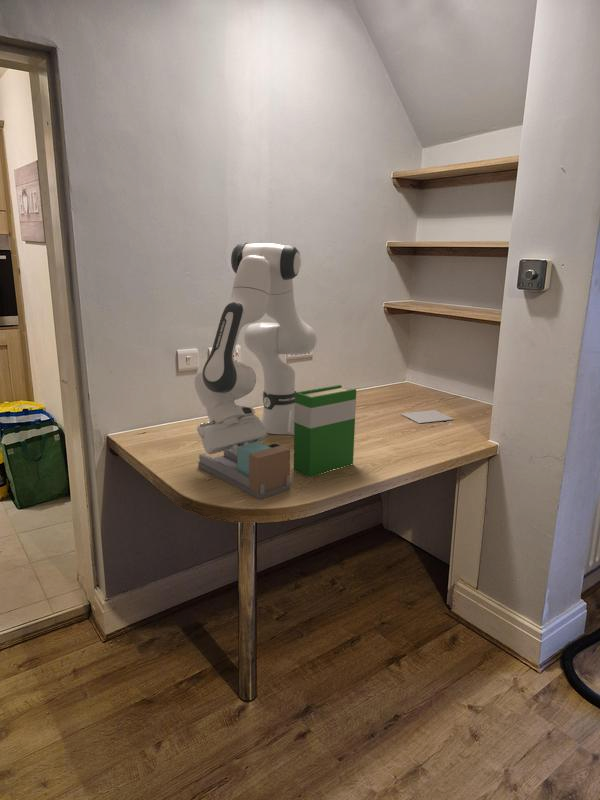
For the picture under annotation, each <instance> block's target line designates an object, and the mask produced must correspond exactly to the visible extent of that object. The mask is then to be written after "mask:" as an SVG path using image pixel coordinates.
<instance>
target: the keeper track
mask: <svg viewBox="0 0 600 800" xmlns="http://www.w3.org/2000/svg"><path fill="white" fill-rule="evenodd" d="M286 447H287V446H283V445H280V446H277V447H273V448H269V449H266V450H262V451H258V452H255V453H251V454H249V476H247V475H245V474H243V473H241V472H239V471H238V463H237V456H236V455H235V454H234V453H232V451H231V449H229V450H225V451H223V455H221V456H218V457H213V458H212V457H211V456H208V455H207V454H204V453H199V454H198V455H199V456H198V457H199V462H197V464H198V465H197V466H198V468H199V469H201V470H203V471H205V472H206V473H208V474H210V475H213V476H214V477H216V478H218V479H220V480H222V481H224V482H225V483H227V484H229V485H232V486H233V487H235V488H237V489H239V490H241V491H243V492H244V493H247V494H248V495H251V496H253V497H254V498H256V499H257V500H263V499H265V498H267V497H271V496H274V495H277V494H279V493H283V492H286V491H289V490H292V484H291V448H290V447H287V448H286ZM289 448H290V449H289Z"/></svg>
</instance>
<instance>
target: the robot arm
mask: <svg viewBox="0 0 600 800" xmlns="http://www.w3.org/2000/svg"><path fill="white" fill-rule="evenodd" d="M301 260H302V259H301V254H300V251H299V250H298V249H297V247H296V246H292V245H290V244H285V245H284V244H279V243H272V242H256V243H253V242H251V243H249V242H244V243H243V242H242V243H238V244H236V246H235V247H234V248H232V252H231V257H230V264H231V265H230V266H231V269H232V271H233V272H234V273H235V277H234V280H233V285H232V290H231V294H230V299H229V301H228V303H227V305H226V306H225V308H224V309H223V311H222V314H221V317H220V320H219V323H218V327H217V330H216V334H215V337H214V341H213V345H212V349H211V351H210V353H209V356H208V358H207V360H206V362H205V364H204V366H203V367H202V368H203V369H202V370H200V371H199V372H198V373H197V374H196V376H195V378H194V389H195V391H196V394H197V397H198V399H199V402H200V403H201V405H202V406H203V407H204V408H205V410H206V415H207V417H208V420H209V421H207V422H202V423H200V424H199V425H198V426H197V430H196V431H197V433H198V436H199V437H200V439H201V443H202V446H203V449H204V451H205V453H206V454H208V455H213V454H218V453H221V452H224V451H225V450H229V449H231V451H232V453H234V454H235V455H236V456H237V447H239V446H243V445H247V444H251V443H255V442H259V443H261V442H263V441H264V440H265V439H266V438H267V435H268V434H272V435H291V436H294V415H295V393H296V392H297V391H296V386H295V385H296V373H295V372H296V371H295V369H294V368H293V367H292V366H290V365H289V364H287V363H285V362H284V361H283V360H281V358H280V355H294V356H295V355H296V356H297V355H306V354H310V353H312V352H313V350H314V349H315V347H316V344H317V334H316V331H315V330H314V328H313V327H312V326H311V325H309V323H306V321H304V320H303V319H302V318H301V315H300V314H299V313H298V310H297V308H296V304H295V294H294V282H293V279H294V278H296V277H297V276H298V274H299V272H300V268H301V266H302V261H301ZM265 315H266V316H267V317H269V318H270V319H273V320H275V322H266V321H265V322H262V321H261V322H257V321H259V320H260V319H262V318H263V317H264V316H265ZM255 322H256V323H255ZM248 324H249V325H248ZM246 325H248V326H247V327H246V330H245V331H244V333H243V334H244V335H243V340H244V345H245V346H246V348H247V349H248V350H249V351H250V352H251V353H252V354H254V356H255V357H256V358H257V360H258V361H259V364H260V365H261V367H262V371H263V381H264V382H263V383H264V384H263V385H264V386H263V388H264V389H263V392H262V402H263V411H262V418H261V419H260V418H259V416H257V415H256V414H255V413H256V411H255V409H254V408H253V407H250V406H244V405H243V406H242V405H239V404H238V405H237V404H236V402H235V401H236V400H239V399H240V398H244V397H245V396H247V395H248V394H250V393H251V392H252V391H253V390H254V388H255V386H256V383H257V376H256V373H255V370H254V369H253V368H252V367H251V366H249V365H246V364H244V363H241V362H237V361H235V359H234V356H235V355H234V354H235V350H236V346H237V343H238V341H239V340H238V339H239V335H240V332H241V330H242V328H243V327H244V326H246ZM298 392H301V391H298Z"/></svg>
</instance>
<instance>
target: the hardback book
mask: <svg viewBox="0 0 600 800" xmlns="http://www.w3.org/2000/svg"><path fill="white" fill-rule="evenodd" d="M356 406H357V389H356V388H351V389H345V388H342V384H336V385H330V386H326V387H318V388H314V389H308V390H303V391H300V392H299V391H296V393H295V415H294V435H293V471H294V472H297V473H299V474H302V475H303V476H305V477H308V478H309V477H310V478H313V477H316V475H317V476H319V474H320V475H322V474H321V473H323V474H325V473H324V472H327V471H330V470H333V469H337V468H340V469H342V468H341V467H344V466H347V465H350V466H352V465H351V464H353V465H354V453H355V451H354V450H355V433H356V432H355V428H356V408H357V407H356ZM347 467H348V466H347ZM344 468H345V467H344ZM337 470H338V469H337ZM333 471H334V470H333ZM330 472H331V471H330ZM327 473H328V472H327ZM312 476H313V477H312Z"/></svg>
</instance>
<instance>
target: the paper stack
mask: <svg viewBox="0 0 600 800" xmlns="http://www.w3.org/2000/svg"><path fill="white" fill-rule="evenodd" d="M399 414H400V415H402V416H404V417H406V418H408V419H409V420H412V421H414V422H416V423H418V424H421V423H430V422H441V421H442V422H443V421H451V420H455V418H454V417H451V416H449V415H447V414H444V413H442V412H439V411H437V410H435V409H432V410H431V409H430V410H423V411H422V410H421V411H413V412H412V411H411V412H402V413H401V412H400V413H399ZM450 425H453V423H451V422H450V423H449V424H448V425H447V426H450Z"/></svg>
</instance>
